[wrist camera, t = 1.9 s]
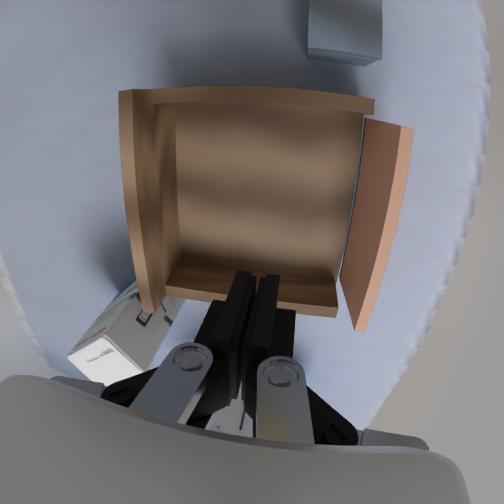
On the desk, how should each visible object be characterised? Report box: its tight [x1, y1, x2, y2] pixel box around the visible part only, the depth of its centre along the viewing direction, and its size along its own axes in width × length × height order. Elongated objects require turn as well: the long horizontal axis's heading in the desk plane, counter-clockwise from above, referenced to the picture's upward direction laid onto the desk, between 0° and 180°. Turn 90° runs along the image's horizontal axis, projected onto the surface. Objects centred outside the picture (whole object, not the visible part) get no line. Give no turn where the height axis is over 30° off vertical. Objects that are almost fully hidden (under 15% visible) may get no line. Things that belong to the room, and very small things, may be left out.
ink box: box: [67, 280, 186, 386], centre depth 27 cm, size 9×5×12 cm, turn 126°
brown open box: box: [119, 86, 375, 318], centre depth 21 cm, size 16×15×8 cm
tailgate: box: [339, 118, 414, 331], centre depth 19 cm, size 13×1×7 cm, turn 178°
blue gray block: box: [307, 0, 382, 67], centre depth 15 cm, size 7×5×5 cm, turn 178°
